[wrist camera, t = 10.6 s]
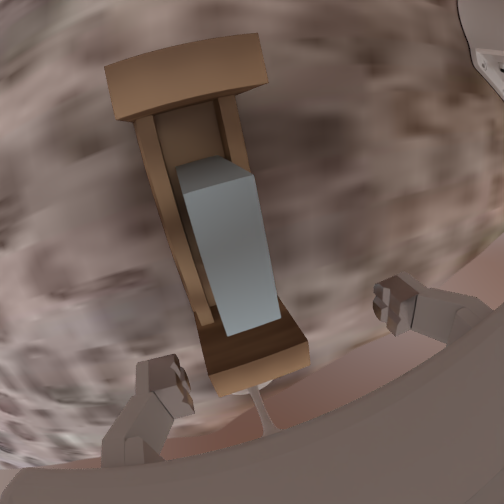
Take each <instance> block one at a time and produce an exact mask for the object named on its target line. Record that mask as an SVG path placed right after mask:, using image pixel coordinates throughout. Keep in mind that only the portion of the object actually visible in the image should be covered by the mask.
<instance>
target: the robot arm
mask: <svg viewBox="0 0 504 504" xmlns="http://www.w3.org/2000/svg"><path fill="white" fill-rule="evenodd" d="M458 9H459V15H460V19H461V23H462V26H463V29H464V32H465V35H466V37H467V40H468V43H469V46H470V51H471V57H472V61H473V65H474V67H475V68H476V69H477V70H478V71H479V72H480V74H481V75H482V76H483V77H484V78H485V79H486V80H487V81H488V82H489V84H490V85H491V86H492V87H493V88H494V89H495V91H496V92H497V93H498V94H499V95H500V97H501V98H502V99H503V100H504V0H458ZM374 293H375V295H376V297H375V298H374V300H373V310H374V313H375V315H376V317H377V318H378V319H379V320H380V321H382V322H385V323H387V328H388V330H389V331H390V332H391V333H392V334H393V335H394V336H395V337H396V336H398V335H400V334H402V333H404V332H406V331H408V330H410V329H411V330H413V331H415V332H418V333H420V334H423V335H426V336H428V337H430V338H433V339H435V340H438V341H440V342H443V343H446V344H447V345H446V348H444V349H443V350H441V351H440V352H438V353H437V354H435V355H434V356H432V357H431V358H429V359H428V360H426V361H425V362H423V363H421V364H420V365H418V366H417V367H415V368H413V369H412V370H410V371H408V372H407V373H405V374H403V375H402V376H400V377H398V378H396V379H394V380H393V381H391V382H389V383H387V384H386V385H384V386H382V387H380V388H378V389H376V390H374V391H372V392H370V393H368V394H366V395H365V396H362V397H360V398H358V399H356V400H354V401H352V402H350V403H348V404H346V405H344V406H342V407H339V408H337V409H335V410H333V411H330V412H328V413H326V414H323V415H321V416H319V417H317V418H314V419H311V420H309V421H306V422H304V423H301V424H299V425H296V426H293V427H291V428H288V429H285V430H282V431H279V432H277V433H274V434H271V435H268V436H265V437H262V438H258V439H255V440H252V441H249V442H245V443H242V444H239V445H235V446H231V447H227V448H224V449H220V450H216V451H211V452H207V453H203V454H198V455H194V456H189V457H184V458H179V459H173V460H168V461H166V460H165V459H163V458H162V457H161V456H160V452H161V450H162V448H163V445H164V443H165V441H166V438H167V436H168V434H169V431H170V429H171V427H172V424H173V422H174V419H176V418H180V417H184V416H188V415H192V414H195V411H194V405H193V400H192V398H191V396H190V395H189V393H190V392H191V388H190V383H189V380H188V377H187V374H186V372H185V370H184V368H182V367H180V363H179V359H178V357H177V356H176V354H171V355H167V356H163V357H158V358H154V359H150V360H147V361H142V362H138V363H137V365H136V390H135V396H132V397H131V398H130V400H129V401H128V403H127V404H126V406H125V407H124V409H123V410H122V412H121V413H120V415H119V416H118V417H117V419H116V420H115V422H114V423H113V425H112V426H111V428H110V429H109V431H108V432H107V434H106V435H105V437H104V438H103V440H102V454H101V468H93V469H46V468H33V467H27V468H23V469H21V470H20V471H19V472H18V473H17V474H16V476H15V477H14V478H13V479H12V480H11V482H10V483H9V484H8V486H7V487H6V488H5V489H4V491H3V493H2V495H1V498H0V504H504V303H503V304H502V305H500V306H499V307H498V308H497V309H496V310H492V309H491V308H490V307H489V306H487V305H486V304H485V303H483V302H482V301H481V300H479V299H478V298H477V297H473V296H468V295H463V294H459V293H454V292H449V291H444V290H440V289H435V288H430V289H428V288H427V287H426V286H424V285H423V284H422V283H420V282H419V281H418V280H416V279H415V278H414V277H412V276H411V275H410V274H408V273H407V272H404V271H403V272H401V273H398V274H396V275H394V276H392V277H390V278H388V279H385V280H383V281H381V282H379V283H376V284H375V286H374Z"/></svg>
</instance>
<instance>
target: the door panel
mask: <svg viewBox="0 0 504 504" xmlns="http://www.w3.org/2000/svg"><path fill="white" fill-rule="evenodd" d="M175 168H176V171H177V175H178V179H179V183H180V186H181V190H182V193H183V197H184V201H185V204H186V208H187V211H188V215H189V218H190V221H191V225H192V228H193V232H194V235H195V238H196V242H197V245H198V248H199V252H200V255H201V258H202V261H203V265H204V268H205V271H206V274H207V277H208V280H209V283H210V286H211V289H212V292H213V295H214V299H215V302H216V304H217V307H218V310H219V313H220V316H221V319H222V322H223V325H224V328H225V331H226V334H227V337H228V336H231V335H234V334H237V333H240V332H243V331H246V330H249V329H252V328H255V327H257V326H260V325H263V324H266V323H269V322H272V321H274V320H277V319H280V318H281V314H280V309H279V303H278V298H277V292H276V287H275V282H274V276H273V271H272V266H271V260H270V255H269V250H268V244H267V239H266V234H265V229H264V224H263V218H262V213H261V208H260V203H259V198H258V193H257V188H256V183H255V178H254V175H253V174H252V173H250V172H248V171H246V170H245V169H243V168H241V167H239V166H237V165H236V164H234V163H232V162H230V161H228V160H226V159H225V158H223V157H221V156H219V155H215V156H212V157H208V158H204V159H200V160H197V161H193V162H190V163H186V164H183V165H179V166H176V167H175Z"/></svg>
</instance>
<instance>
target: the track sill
mask: <svg viewBox="0 0 504 504" xmlns="http://www.w3.org/2000/svg"><path fill="white" fill-rule="evenodd" d="M104 69H105V74H106V79H107V84H108V89H109V93H110V98H111V102H112V107H113V111H114V115H115V119H116V120H120V121H127V122H133V124H134V128H135V132H136V136H137V140H138V144H139V148H140V151H141V155H142V159H143V162H144V166H145V169H146V173H147V176H148V180H149V183H150V187H151V190H152V193H153V196H154V200H155V203H156V206H157V209H158V213H159V216H160V219H161V222H162V225H163V228H164V231H165V234H166V237H167V240H168V243H169V246H170V249H171V252H172V255H173V258H174V260H175V263H176V266H177V269H178V272H179V274H180V277H181V280H182V283H183V285H184V288H185V291H186V293H187V296H188V299H189V301H190V304H191V307H192V309H193V312H194V316H195V321H196V325H197V330H198V334H199V339H200V343H201V347H202V352H203V356H204V360H205V364H206V368H207V372H208V376H209V378H210V380H211V382H212V384H213V386H214V388H215V390H216V392H217V394H218V396H219V397H222V396H226V395H229V394H232V393H235V392H238V391H241V390H244V389H247V388H250V387H253V386H256V385H259V384H262V383H265V382H267V381H270V380H273V379H276V378H278V377H281V376H284V375H286V374H289V373H291V372H294V371H296V370H299V369H301V368H304V367H306V366H309V365H310V355H309V345H308V340H307V338H306V337H305V336H304V334H303V333H302V331H301V330H300V328H299V327H298V325H297V324H296V322H295V321H294V319H293V318H292V316H291V315H290V313H289V312H288V310H287V309H286V307H285V306H284V305H283V303H282V302H281V300H280V299H279V297H278V296H277V298H278V303H279V309H280V314H281V318H280V319H277V320H274V321H272V322H269V323H266V324H263V325H260V326H257V327H255V328H252V329H249V330H246V331H243V332H240V333H237V334H234V335H231V336H228V337H227V334H226V331H225V328H224V325H223V322H222V319H221V316H220V313H219V310H218V307H217V304H216V302H215V299H214V295H213V292H212V289H211V286H210V283H209V280H208V277H207V274H206V271H205V268H204V265H203V261H202V258H201V255H200V252H199V248H198V245H197V242H196V238H195V235H194V232H193V228H192V225H191V221H190V218H189V215H188V211H187V208H186V204H185V201H184V197H183V193H182V190H181V186H180V183H179V179H178V175H177V171H176V168H175V167H176V166H179V165H183V164H186V163H190V162H193V161H197V160H200V159H204V158H208V157H212V156H215V155H219V156H221V157H223V158H225V159H226V160H228V161H230V162H232V163H234V164H236V165H237V166H239V167H241V168H243V169H245V170H246V171H248V172H250V167H249V162H248V157H247V152H246V147H245V142H244V138H243V133H242V128H241V123H240V119H239V114H238V109H237V104H236V100H235V95H238V94H240V93H243V92H246V91H248V90H251V89H253V88H256V87H259V86H262V85H264V84H267V83H269V82H268V77H267V72H266V68H265V63H264V58H263V54H262V49H261V45H260V41H259V36H258V33H251V34H242V35H233V36H226V37H219V38H212V39H207V40H201V41H196V42H190V43H186V44H181V45H176V46H172V47H168V48H164V49H160V50H156V51H152V52H148V53H145V54H141V55H138V56H135V57H131V58H128V59H125V60H122V61H119V62H116V63H113V64H110V65H107V66H104ZM250 173H251V172H250Z"/></svg>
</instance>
